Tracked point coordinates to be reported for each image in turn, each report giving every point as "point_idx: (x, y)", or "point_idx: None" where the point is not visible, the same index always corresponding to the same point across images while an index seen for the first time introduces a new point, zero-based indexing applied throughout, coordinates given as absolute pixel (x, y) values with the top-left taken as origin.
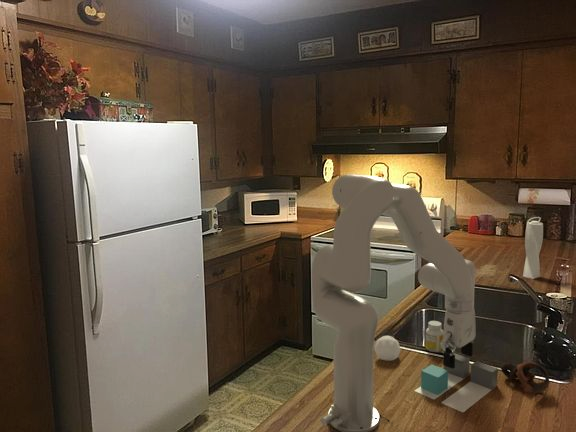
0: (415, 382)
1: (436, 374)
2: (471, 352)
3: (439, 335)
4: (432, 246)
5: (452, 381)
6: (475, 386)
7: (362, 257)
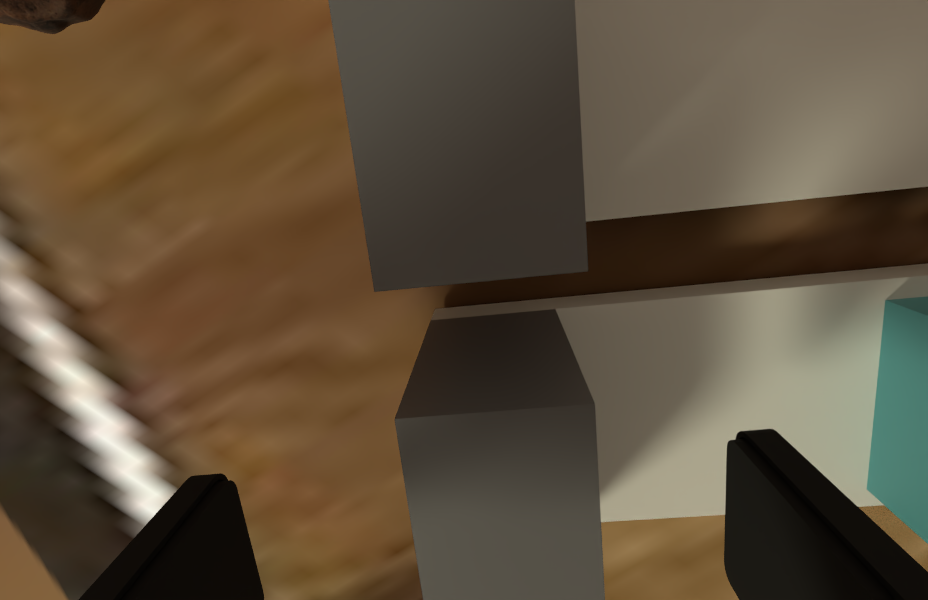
0: None
1: None
2: (187, 514)
3: None
4: None
5: (703, 351)
6: (612, 114)
7: None
